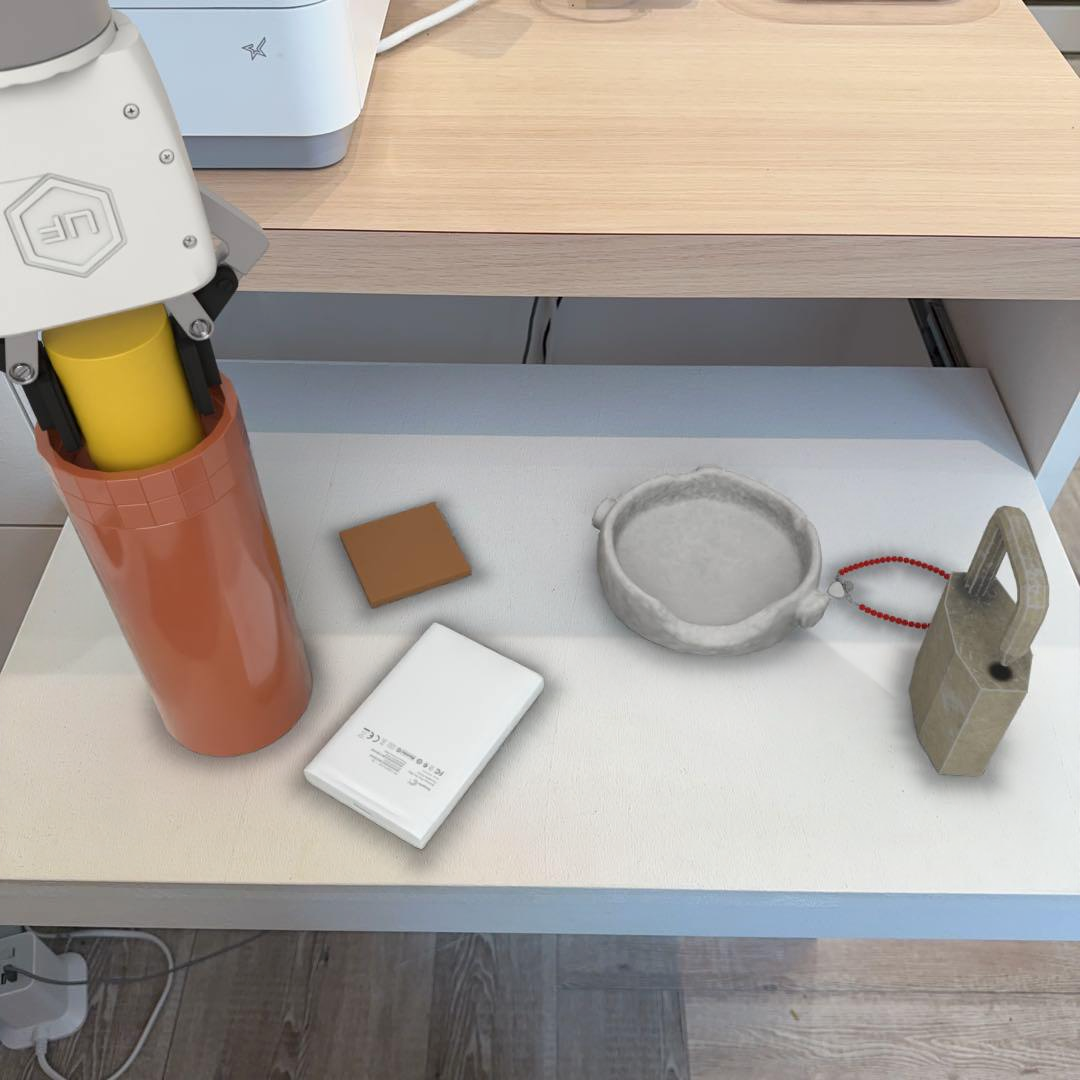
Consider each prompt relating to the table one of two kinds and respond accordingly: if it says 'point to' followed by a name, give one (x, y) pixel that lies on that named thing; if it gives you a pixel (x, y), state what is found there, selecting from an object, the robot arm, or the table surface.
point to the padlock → (980, 649)
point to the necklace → (844, 586)
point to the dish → (709, 562)
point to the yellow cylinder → (126, 388)
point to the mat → (404, 554)
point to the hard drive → (425, 733)
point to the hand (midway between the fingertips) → (136, 412)
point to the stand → (194, 582)
